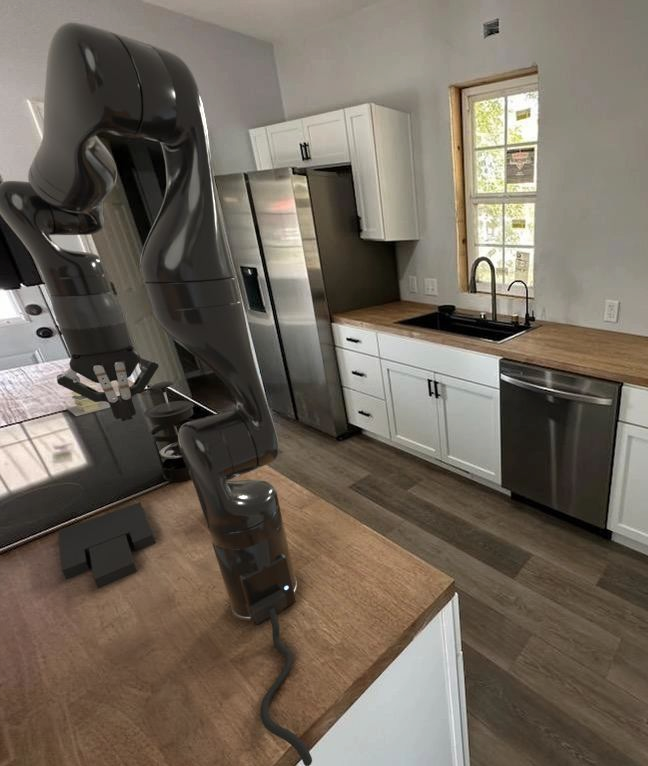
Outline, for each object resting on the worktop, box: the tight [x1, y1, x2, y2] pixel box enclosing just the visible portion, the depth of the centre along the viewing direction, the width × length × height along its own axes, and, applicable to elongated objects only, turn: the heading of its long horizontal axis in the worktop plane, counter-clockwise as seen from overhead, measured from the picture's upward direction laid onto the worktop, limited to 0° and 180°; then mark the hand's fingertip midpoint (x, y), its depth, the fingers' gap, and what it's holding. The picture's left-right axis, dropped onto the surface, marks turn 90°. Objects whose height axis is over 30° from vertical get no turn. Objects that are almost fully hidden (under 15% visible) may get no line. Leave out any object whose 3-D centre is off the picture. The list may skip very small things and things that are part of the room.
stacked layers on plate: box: [66, 386, 111, 417], centre depth 131 cm, size 10×9×6 cm
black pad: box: [89, 535, 138, 589], centre depth 73 cm, size 10×5×2 cm, turn 47°
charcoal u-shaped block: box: [57, 501, 157, 580], centre depth 78 cm, size 14×12×2 cm
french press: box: [143, 381, 195, 483], centre depth 96 cm, size 12×9×23 cm
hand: (126, 418), depth 72 cm, fingers closed
